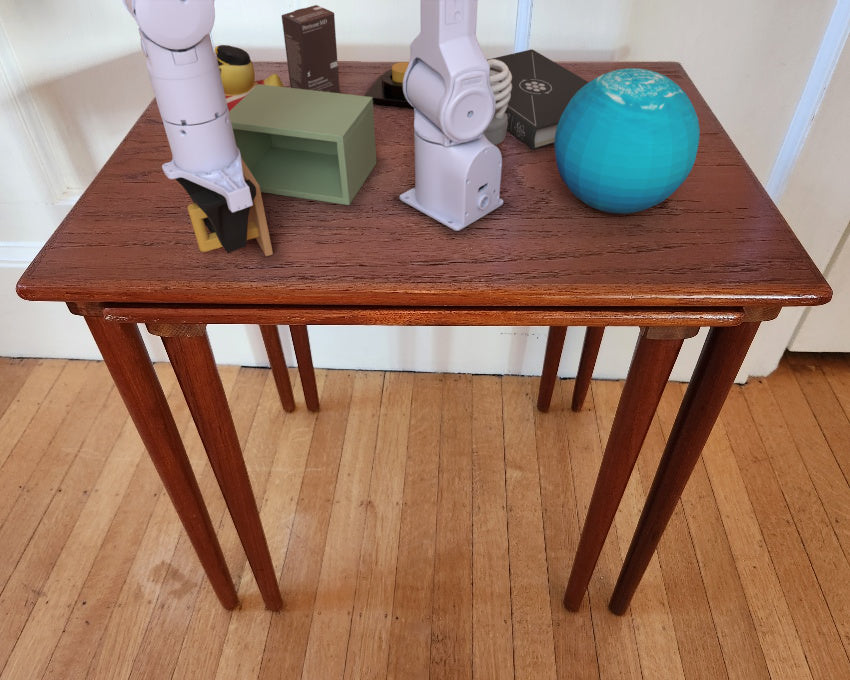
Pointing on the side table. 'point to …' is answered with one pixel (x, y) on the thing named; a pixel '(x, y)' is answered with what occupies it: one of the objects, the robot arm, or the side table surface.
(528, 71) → the book
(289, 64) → the box
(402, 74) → the button
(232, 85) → the toy
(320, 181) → the cupboard
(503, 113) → the light bulb
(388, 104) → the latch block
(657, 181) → the decorative orb
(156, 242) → the side table surface
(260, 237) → the cupboard door
